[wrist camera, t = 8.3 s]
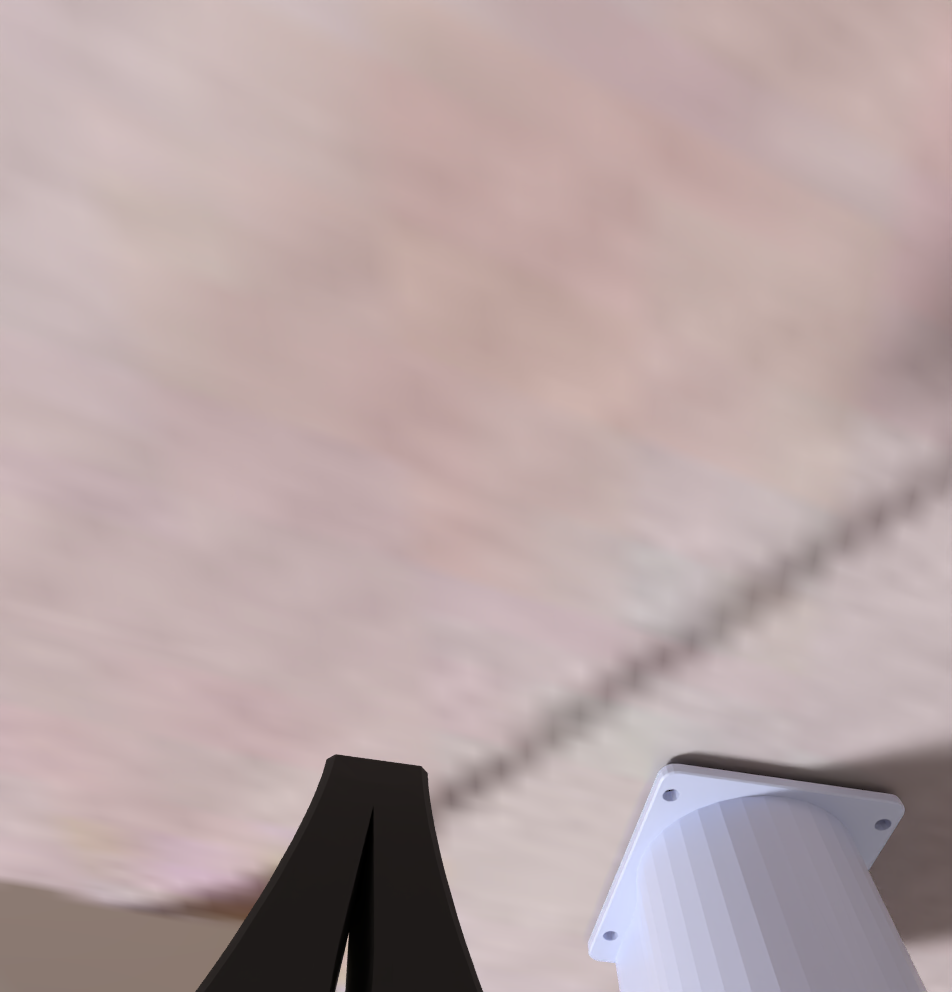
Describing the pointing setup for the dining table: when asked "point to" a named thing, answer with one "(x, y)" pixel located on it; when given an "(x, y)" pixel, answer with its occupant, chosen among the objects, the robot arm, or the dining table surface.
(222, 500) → the dining table surface
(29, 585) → the dining table surface
